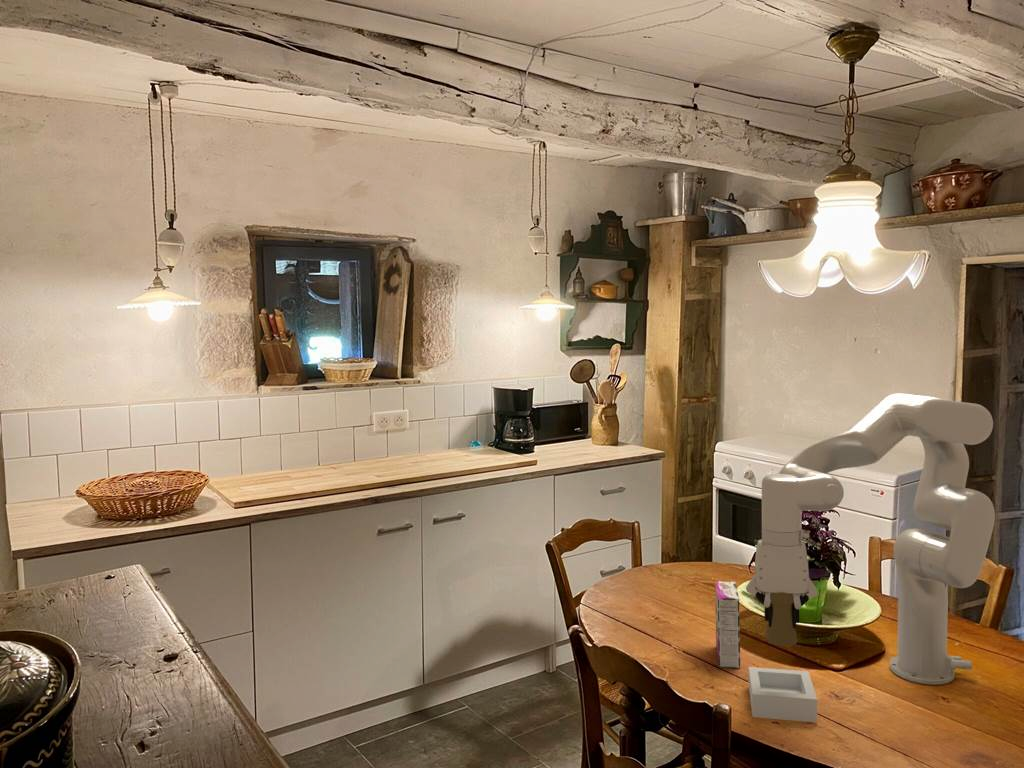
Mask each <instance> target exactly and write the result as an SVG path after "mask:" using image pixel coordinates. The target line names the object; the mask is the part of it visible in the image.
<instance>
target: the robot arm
mask: <svg viewBox="0 0 1024 768" xmlns="http://www.w3.org/2000/svg"><path fill="white" fill-rule="evenodd" d="M993 428H994V419H993V417H992V414H991V412H990V411H989V410H988V409H987V408H986V407H984V406H983V405H982V404H978V403H974V402H973V403H971V402H965V401H964V402H963V401H959V400H958V401H956V400H951V399H945V398H940V397H936V396H935V397H934V396H929V395H919V394H918V395H917V394H912V393H911V394H910V393H903V392H902V393H897V392H896V393H892V394H889V395H887V396H886V397H884V398H882V399H881V400H880V401H879V402H877V404H875V406H873V407H872V408H871V409H870V410H868V412H866V413H865V414H864V415H863V416H862V417H861V418H859V419H858V420H857V421H856V422H855V423H854V424H853V425H851V427H849V428H847V430H845V431H843V432H841V433H839V434H835V435H833V436H830V437H828V438H826V439H824V440H823V439H822V440H821V441H818V442H816V443H814V444H811V445H809V446H808V447H806V448H804V449H802V450H800V451H799V452H798V453H797V454H795V456H793V458H791V459H790V460H789V461H788V462H787V463H786V464H785V465H784V466H782V468H781V469H780V470H779V472H778V473H771V474H768V475H765V476H764V477H763V478H762V480H761V539H758V541H757V543H756V544H757V545H756V550H755V561H754V575H753V576H752V578H751V579H750V580H749V582H748V583H747V585H746V586H745V591H746V592H747V593H748V594H750V595H751V596H753V597H754V598H756V599H757V600H758V601H759V602H760V603H761V604H762V605H763V609H764V621H765V622H768V621H769V627H771V625H772V616H773V608H771V600H770V594H771V593H779V592H784V593H789V594H793V597H794V603H793V604H792V624H793V628H795V630H796V629H797V624H800V609H802V607H803V606H804V605H805V604H806V603H807V602H808V601H809V600H812V599H813V598H815V597H818V596H819V591H818V589H817V588H816V586H815V584H814V583H813V582H812V580H811V578H810V571H809V561H808V554H807V553H808V552H807V547H806V543H805V542H804V540H806V539H810V531H806V530H804V529H802V525H803V523H802V518H803V517H802V512H804V511H805V512H808V511H812V512H827V511H831V510H833V509H836V508H837V507H838V506H839V505H840V504H841V503H842V500H843V498H844V495H845V493H844V487H843V484H842V483H841V482H840V481H839V479H838V478H836V477H834V476H833V475H831V474H829V473H831V472H834V471H838V470H841V469H851V468H859V467H864V466H868V465H869V466H870V465H874V464H876V463H877V462H879V461H880V460H881V459H883V457H884V456H885V455H887V454H888V453H889V452H890V451H891V450H892V449H893V448H894V447H896V446H897V444H899V443H900V442H901V441H903V439H905V438H906V437H909V436H911V437H918V438H919V439H920V441H921V444H922V447H923V451H924V461H923V466H922V471H921V473H920V477H919V478H920V479H919V481H918V485H917V490H916V493H915V497H914V501H913V513H914V516H915V517H916V518H917V519H918V520H920V522H923V523H925V524H928V525H931V526H933V527H936V528H941V529H942V530H943V529H944V530H946V531H950V535H949V536H946V535H943V534H941V533H938V532H934V531H931V530H929V529H928V530H927V529H923V528H915V527H914V528H908V529H904V530H903V531H902V532H900V533H899V534H898V535H897V537H896V538H895V541H894V545H893V557H894V558H893V559H894V562H895V568H896V573H897V574H896V575H897V584H898V585H897V587H898V591H897V592H898V593H897V595H898V596H897V599H898V600H897V645H896V646H897V649H896V652H897V655H896V656H893V657H892V658H890V659H889V668H890V670H891V671H892V672H893V673H894V674H895V675H897V676H898V677H900V678H903V679H904V680H907V681H910V682H914V683H917V684H921V685H922V684H924V685H932V686H933V685H934V686H936V685H947V684H949V683H950V682H952V681H953V680H954V679H955V670H956V669H960V670H966V671H968V670H969V671H970V670H972V669H973V665H972V661H971V660H969V659H962V656H960V655H950V654H948V651H947V650H948V649H947V648H948V644H947V643H948V612H949V611H948V608H949V605H948V604H949V597H948V590H947V588H946V587H947V586H950V587H953V588H957V589H965V588H966V589H967V588H970V587H971V586H972V585H974V583H975V582H976V581H977V580H978V579H979V577H980V575H981V573H982V570H983V567H984V564H985V560H986V555H987V553H988V550H989V546H990V541H991V538H992V535H993V530H994V527H995V526H994V525H995V520H996V513H995V512H996V511H995V508H994V504H993V502H992V501H991V498H989V496H987V495H986V494H984V493H983V492H981V491H980V490H976V489H972V488H968V487H967V488H966V484H967V479H968V474H969V469H970V460H969V459H970V457H969V453H968V451H967V450H966V447H965V445H969V446H973V445H978V444H981V443H983V442H984V441H986V440H987V439H988V438H989V437H990V435H991V434H992V431H993Z"/></svg>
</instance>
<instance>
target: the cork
mask: <svg viewBox="0 0 1024 768" xmlns="http://www.w3.org/2000/svg"><path fill="white" fill-rule="evenodd" d="M770 600H771V608H773V616H772V625H771V627H769V621H767V624H766V633H765V641H766V642H768V643H769V644H771V645H774V646H779V647H792V646H795V645H796V644H797V643H798V639H797V630H796V629H795V628H793V624H792V604H793V603H794V597H793V594H789V593H784V592H779V593H771V594H770Z"/></svg>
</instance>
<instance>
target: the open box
mask: <svg viewBox="0 0 1024 768" xmlns="http://www.w3.org/2000/svg"><path fill="white" fill-rule="evenodd" d="M748 691H749V692H748V693H749V699H750V700H749V701H750V708H751V715H752V718H759V717H760V719H770V720H773V719H774V720H784V721H792V722H793V721H795V722H806V723H818V698H817V695H816V691H815V688H814V685H813V681H812V678H811V675H810V671H809V670H808V671H807V670H797V669H781V668H769V667H768V668H767V667H754V666H748Z"/></svg>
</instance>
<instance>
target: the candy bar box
mask: <svg viewBox="0 0 1024 768" xmlns="http://www.w3.org/2000/svg"><path fill="white" fill-rule="evenodd" d="M714 595H715V596H714V599H715V600H714V602H715V603H714V606H715V608H714V609H715V638H716V639H715V646H716V651H717V652H716V654H717V659H718V666H719V668H728V669H730V668H732V669H740V668H741V637H740V636H741V632H740V630H741V629H740V627H741V626H740V620H741V619H740V597H739V591H738V587H737V583H736V581H727V580H725V581H724V580H717V581H714Z"/></svg>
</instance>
